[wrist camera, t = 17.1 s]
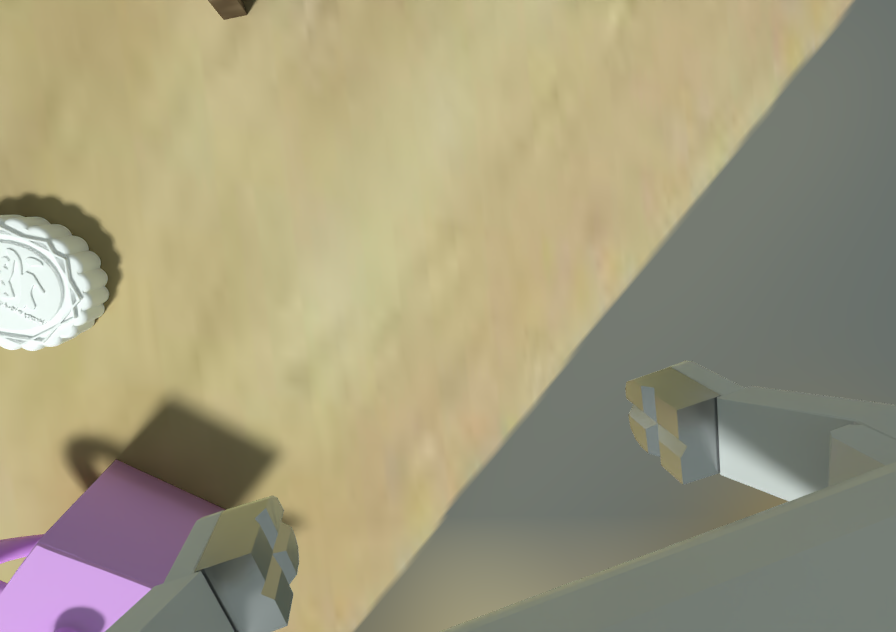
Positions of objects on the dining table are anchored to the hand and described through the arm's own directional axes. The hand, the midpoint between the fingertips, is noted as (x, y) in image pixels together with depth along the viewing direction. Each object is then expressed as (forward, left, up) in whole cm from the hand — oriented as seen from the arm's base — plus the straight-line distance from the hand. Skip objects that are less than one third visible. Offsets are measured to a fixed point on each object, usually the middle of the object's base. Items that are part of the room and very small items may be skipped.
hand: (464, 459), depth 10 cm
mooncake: (+32, -6, -38) cm, 50 cm away
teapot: (+35, +24, -37) cm, 57 cm away
